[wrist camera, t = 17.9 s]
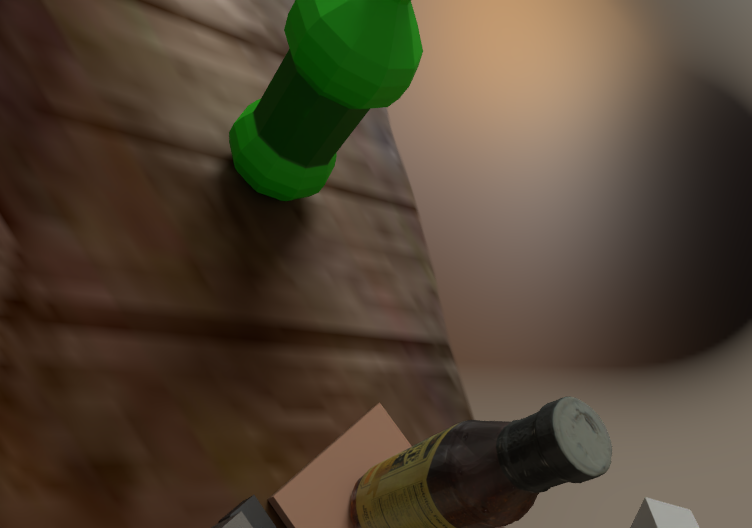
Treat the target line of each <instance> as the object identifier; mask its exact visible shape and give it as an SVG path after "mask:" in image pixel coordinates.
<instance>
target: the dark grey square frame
mask: <svg viewBox="0 0 752 528" xmlns="http://www.w3.org/2000/svg"><path fill="white" fill-rule="evenodd" d="M212 528H276V526H275V525H274V523H273V522H272V520H271V519H270V517H269V516H268V515H267V513H266V512H265V510H264V509H263V507H262V506H261V504H260V503H259V501H258V500H257V499H256V497H255V496H254V495H253V496H251V497H249V498H248V499H246V500H244V501H242V502H241V503H240V504H239V505H238V506H236V507H235V508H234V509H233V510H232V511H230V512H229V513H228V514H227V515H226V516H225V517H223V518H222V519H221V520H220V521H219V523H218V524H217V525H215V526H213V527H212Z"/></svg>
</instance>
